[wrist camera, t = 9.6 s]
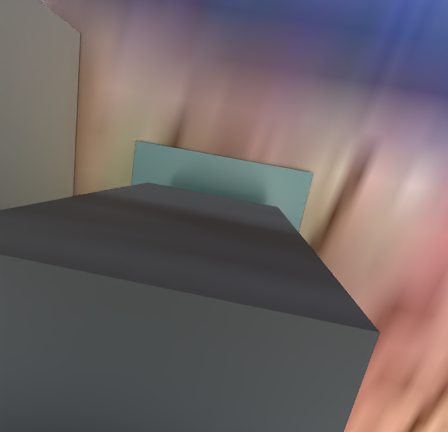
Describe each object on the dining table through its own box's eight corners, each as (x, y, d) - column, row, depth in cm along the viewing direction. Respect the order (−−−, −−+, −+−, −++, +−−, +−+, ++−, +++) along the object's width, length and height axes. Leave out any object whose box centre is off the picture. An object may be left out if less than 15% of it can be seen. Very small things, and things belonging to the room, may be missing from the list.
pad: (114, 388, 14) (111, 392, 14) (138, 141, 11) (135, 140, 11) (249, 418, 14) (249, 423, 14) (311, 172, 11) (313, 173, 11)
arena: (30, 512, 17) (-55, 652, 12) (36, 26, 11) (-141, -92, 6) (456, 617, 16) (549, 818, 11) (748, 144, 10) (1281, 122, 5)
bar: (147, 182, 9) (-113, 230, 2) (277, 206, 9) (379, 332, 2) (122, 410, 12) (-47, 755, 5) (225, 433, 12) (199, 826, 5)
